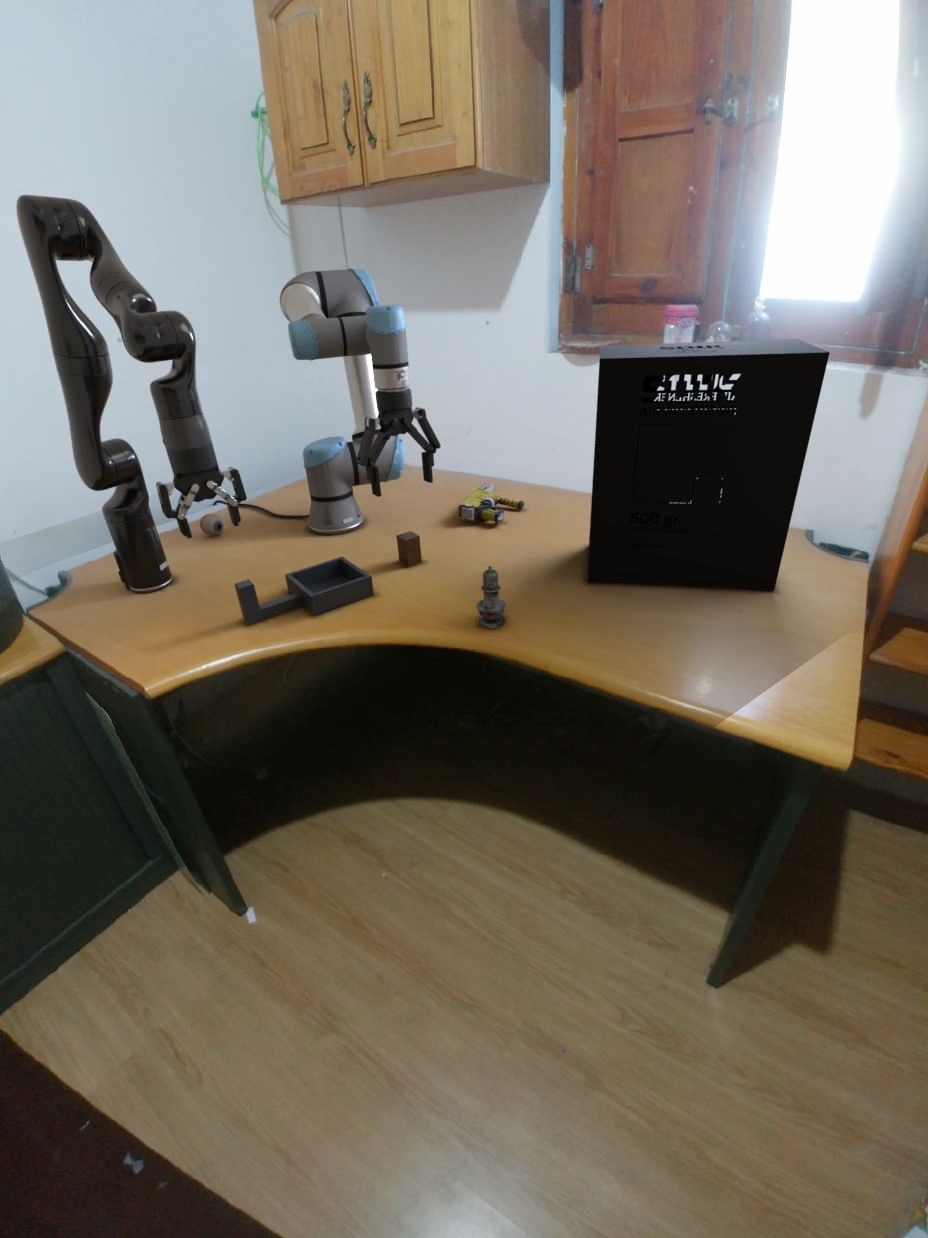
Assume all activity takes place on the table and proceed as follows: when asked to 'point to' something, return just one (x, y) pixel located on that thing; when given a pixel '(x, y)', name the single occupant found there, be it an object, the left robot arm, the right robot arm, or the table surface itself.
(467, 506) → the toy gun
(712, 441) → the cardboard box
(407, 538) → the walnut block
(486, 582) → the grey tall tiered piece
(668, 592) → the table surface
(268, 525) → the table surface
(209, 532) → the eyeball
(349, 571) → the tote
